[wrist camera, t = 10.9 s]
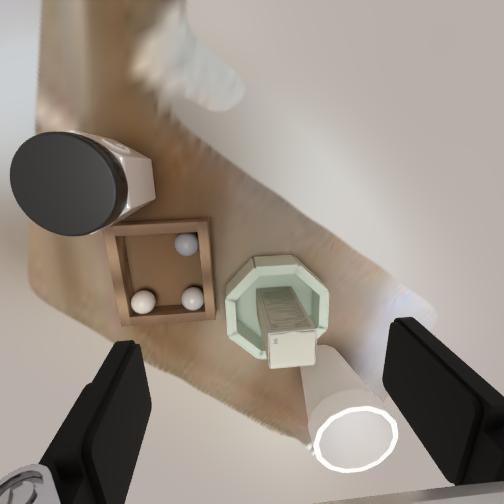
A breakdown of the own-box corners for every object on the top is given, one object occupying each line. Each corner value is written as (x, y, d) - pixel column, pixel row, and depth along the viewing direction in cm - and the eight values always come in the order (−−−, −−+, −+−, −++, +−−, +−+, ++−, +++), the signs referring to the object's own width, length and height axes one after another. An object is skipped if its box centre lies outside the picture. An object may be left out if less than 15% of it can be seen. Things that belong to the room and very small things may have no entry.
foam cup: (340, 390, 45) (382, 475, 33) (284, 385, 44) (305, 470, 32) (357, 338, 43) (409, 409, 30) (297, 331, 41) (326, 402, 29)
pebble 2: (175, 229, 36) (170, 237, 33) (199, 228, 36) (196, 236, 33) (179, 251, 37) (173, 260, 34) (202, 250, 37) (198, 259, 34)
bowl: (223, 258, 37) (222, 268, 34) (320, 252, 38) (330, 262, 34) (229, 343, 41) (229, 361, 37) (317, 337, 42) (326, 354, 38)
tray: (110, 222, 35) (102, 226, 33) (208, 217, 36) (207, 221, 33) (128, 316, 39) (121, 326, 36) (216, 310, 40) (215, 319, 37)
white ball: (182, 284, 38) (178, 293, 35) (205, 283, 38) (202, 292, 35) (185, 304, 39) (180, 315, 36) (207, 303, 39) (204, 314, 36)
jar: (170, 167, 34) (139, 167, 22) (143, 227, 36) (101, 255, 24) (95, 127, 32) (20, 105, 21) (71, 192, 34) (-11, 205, 22)
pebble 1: (138, 308, 39) (134, 287, 38) (160, 306, 39) (156, 286, 38) (129, 318, 36) (124, 296, 35) (152, 317, 36) (148, 295, 35)
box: (256, 315, 40) (265, 370, 29) (255, 287, 38) (265, 333, 28) (293, 313, 40) (316, 366, 29) (294, 285, 39) (318, 329, 28)
